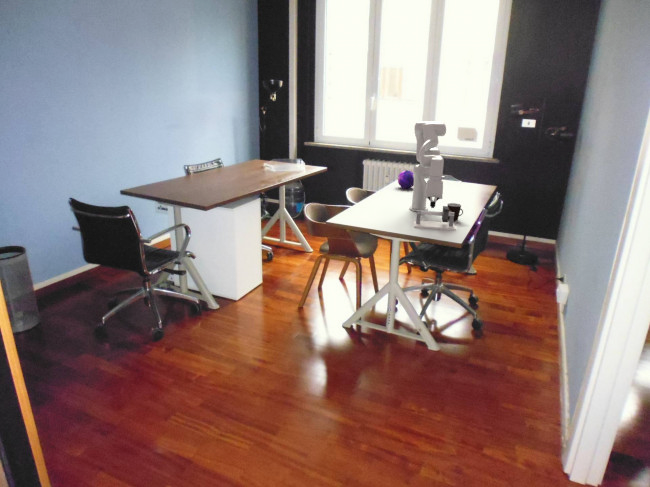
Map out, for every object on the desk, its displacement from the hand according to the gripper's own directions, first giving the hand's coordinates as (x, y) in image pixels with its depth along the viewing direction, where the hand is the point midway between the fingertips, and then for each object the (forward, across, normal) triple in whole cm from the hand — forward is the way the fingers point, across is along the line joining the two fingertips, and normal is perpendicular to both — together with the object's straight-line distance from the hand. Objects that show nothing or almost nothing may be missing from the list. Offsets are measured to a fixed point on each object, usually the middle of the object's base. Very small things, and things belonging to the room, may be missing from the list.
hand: (432, 207), depth 294 cm
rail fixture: (+12, -2, +1) cm, 12 cm away
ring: (+8, -8, +1) cm, 11 cm away
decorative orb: (+14, +16, -106) cm, 108 cm away
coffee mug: (+12, -15, -15) cm, 24 cm away
